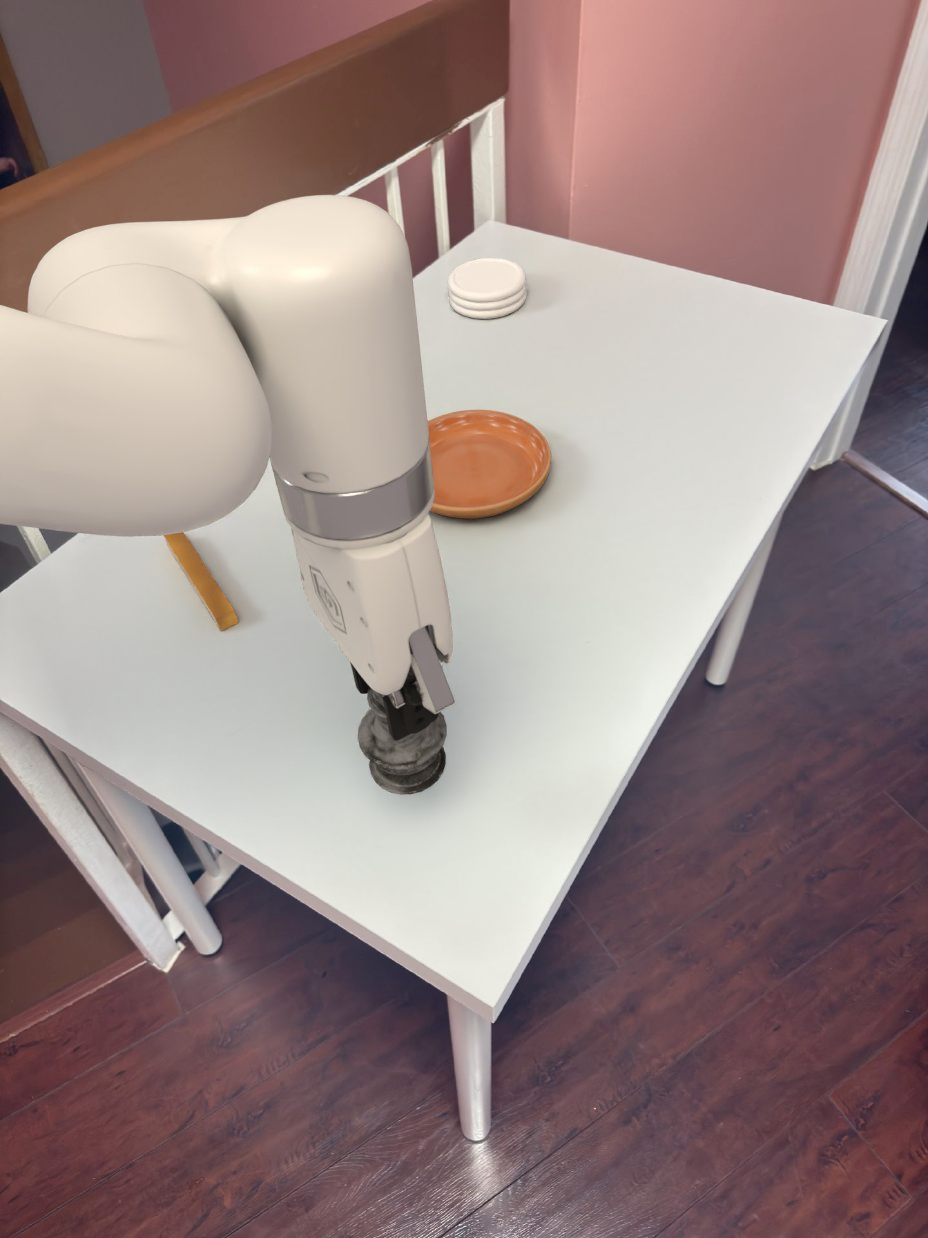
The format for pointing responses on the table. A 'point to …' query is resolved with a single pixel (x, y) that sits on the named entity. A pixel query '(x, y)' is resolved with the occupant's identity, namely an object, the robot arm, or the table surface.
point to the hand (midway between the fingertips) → (396, 702)
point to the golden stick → (202, 580)
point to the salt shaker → (401, 750)
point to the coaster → (487, 288)
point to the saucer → (485, 462)
